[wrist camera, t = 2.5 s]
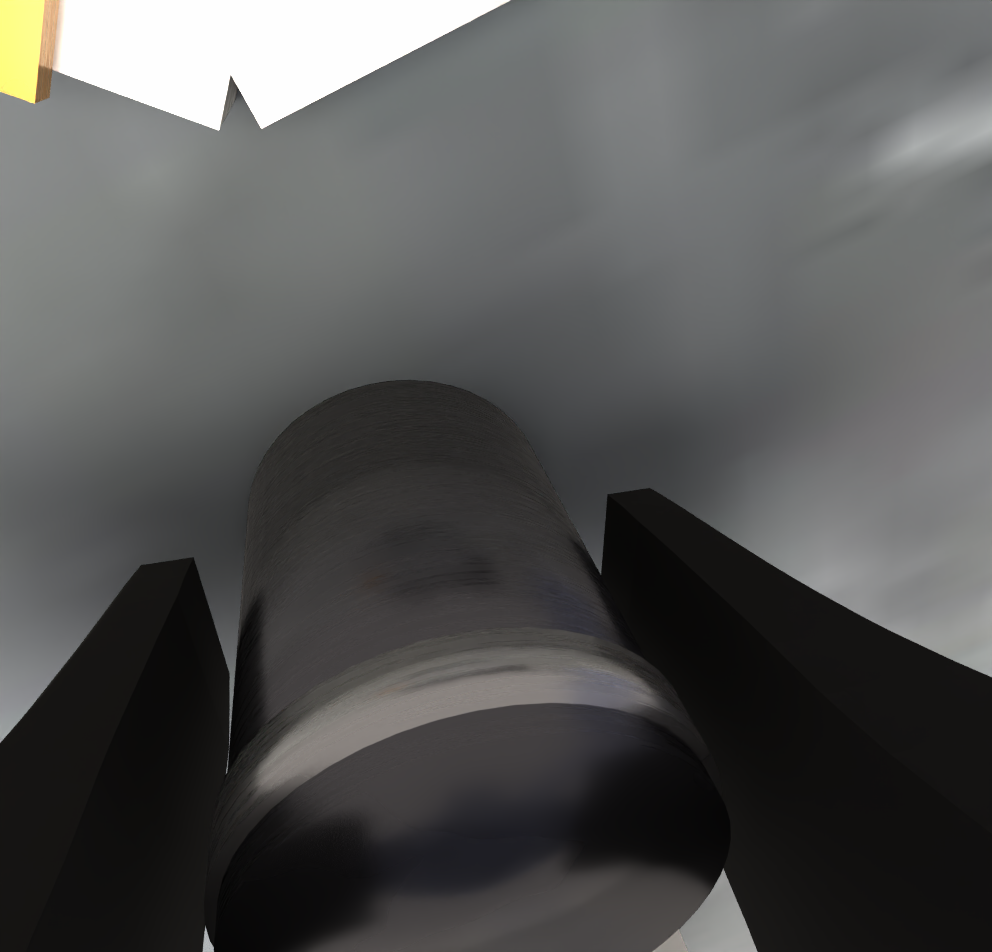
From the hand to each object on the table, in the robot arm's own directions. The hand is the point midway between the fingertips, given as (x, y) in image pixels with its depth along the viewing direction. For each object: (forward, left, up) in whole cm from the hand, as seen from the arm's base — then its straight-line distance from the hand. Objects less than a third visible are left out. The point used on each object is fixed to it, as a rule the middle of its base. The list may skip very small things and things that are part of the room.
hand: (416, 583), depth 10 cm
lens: (0, 0, -2) cm, 2 cm away
